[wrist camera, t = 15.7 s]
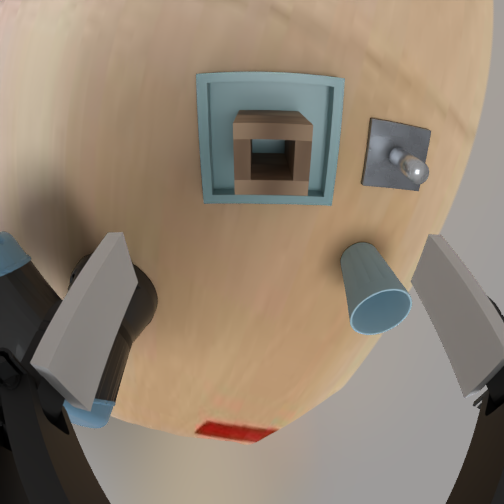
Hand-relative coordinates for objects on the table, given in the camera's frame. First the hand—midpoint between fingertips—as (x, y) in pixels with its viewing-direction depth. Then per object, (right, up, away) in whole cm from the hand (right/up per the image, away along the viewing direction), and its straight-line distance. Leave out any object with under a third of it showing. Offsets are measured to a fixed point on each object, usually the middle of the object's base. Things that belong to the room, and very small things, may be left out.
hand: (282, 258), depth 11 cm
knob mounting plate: (+16, +11, +17) cm, 26 cm away
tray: (+1, +12, +17) cm, 21 cm away
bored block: (0, +12, +16) cm, 20 cm away
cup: (+14, 0, +26) cm, 29 cm away
